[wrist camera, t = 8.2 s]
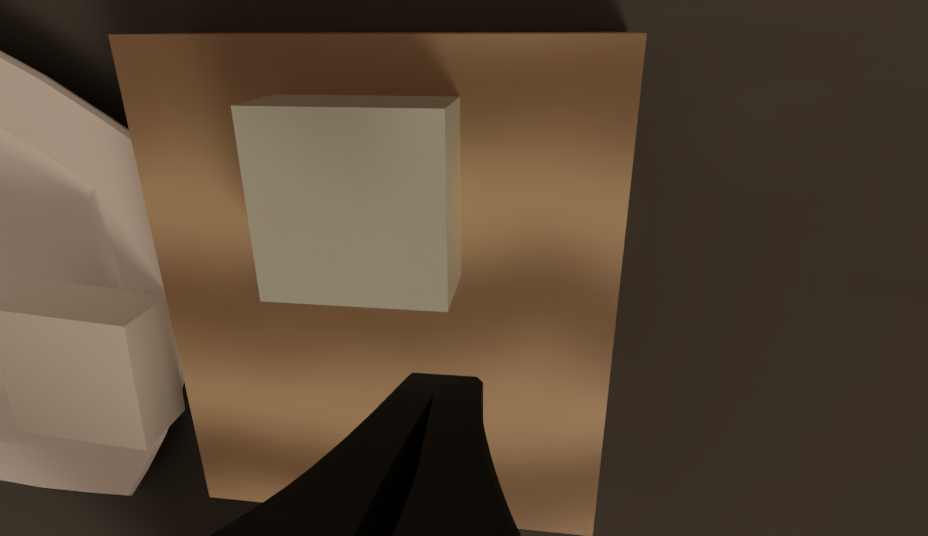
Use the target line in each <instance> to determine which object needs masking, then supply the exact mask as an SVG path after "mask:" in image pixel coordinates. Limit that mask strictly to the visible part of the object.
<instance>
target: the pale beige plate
mask: <svg viewBox="0 0 928 536" xmlns="http://www.w3.org/2000/svg"><path fill="white" fill-rule="evenodd" d="M40 279H41V280H49V281H57V282H66V283H74V284H82V285H90V286H98V287H107V288H115V289H123V290H131V291H139V292H148V293H156V294H164V295H165V291H164V287H163V282H162V278H161V273H160V269H159V264H158V259H157V255H156V250H155V246H154V241H153V237H152V232H151V228H150V223H149V218H148V214H147V209H146V205H145V200H144V196H143V191H142V187H141V182H140V177H139V173H138V168H137V164H136V159H135V155H134V150H133V146H132V141H131V136H130V132H129V129H127V128H126V127H124V126H123V125H121V124H120V123H118V122H117V121H116V120H114V119H113V118H111V117H110V116H108V115H107V114H105V113H104V112H102V111H101V110H99V109H97V108H96V107H94V106H93V105H91V104H90V103H88V102H87V101H85V100H84V99H82V98H80V97H79V96H77V95H76V94H74V93H73V92H71V91H70V90H68V89H67V88H65V87H63V86H62V85H60V84H59V83H57V82H56V81H54V80H53V79H51V78H50V77H48V76H46V75H45V74H43V73H41V72H39V71H37V70H35V69H34V68H32V67H30V66H28V65H26V64H24V63H23V62H21V61H19V60H17V59H15V58H13V57H12V56H10V55H8V54H6V53H4V52H2V51H1V50H0V299H2V298H4V297H6V296H8V295H10V294H12V293H14V292H16V291H18V290H20V289H22V288H24V287H26V286H28V285H30V284H32V283H34V282H36V281H38V280H40ZM174 338H175V337H174ZM175 345H176V342H175ZM176 352H177V359H178V365H179V372H180V378H181V384H182V389H183V385H184V378H183V373H182V369H181V364H180V360H179V355H178V351H177V346H176ZM167 431H168V429H167V430H166V431H165V432H164V433H163V434H162V435H161V436H160V437H159V438H158V439H157V440H156V441H155V443H154V444H153V445H152V446H151V447H150V448H149V449H148V450H140V449H133V448H126V447H120V446H113V445H106V444H99V443H93V442H86V441H79V440H73V439H66V438H59V437H52V436H46V435H39V434H32V433H25V432H19V431H17V428H16V424H15V421H14V417H13V414H12V411H11V407H10V404H9V400H8V397H7V393H6V390H5V386H4V383H3V379H2V376H1V373H0V480H4V481H9V482H15V483H20V484H26V485H31V486H37V487H44V488H53V489H62V490H72V491H81V492H92V493H104V494H116V495H133V493H134V492H135V490H136V488H137V487H138V485H139V483H140V482H141V480H142V479H143V477H144V475H145V474H146V472H147V470H148V469H149V467H150V465H151V463H152V461H153V459H154V457H155V455H156V453H157V451H158V449H159V447H160V445H161V444H162V442H163V440H164V438H165V436H166V434H167Z"/></svg>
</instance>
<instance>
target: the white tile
mask: <svg viewBox="0 0 928 536" xmlns="http://www.w3.org/2000/svg"><path fill="white" fill-rule="evenodd" d="M0 373H1V376H2V379H3V383H4V386H5V390H6V393H7V397H8V400H9V404H10V407H11V411H12V414H13V417H14V421H15V424H16V428H17V431H19V432H25V433H32V434H39V435H46V436H52V437H59V438H66V439H73V440H79V441H86V442H93V443H99V444H106V445H113V446H120V447H126V448H133V449H140V450H148V449H149V448H150V447H151V446H152V445H153V444H154V443H155V441H156V440H157V439H158V438H159V437H160V436H161V435H162V434H163V433H164V432H165V431H166V430H167V429H168V428H169V427H170V425H171V424H172V423H173V422H174V421H175V420H176V419H177V418H178V417H179V416H180V415H181V414H182V413H183V412H184V411H185V405H184V398H183V391H182V384H181V378H180V372H179V365H178V359H177V352H176V345H175V338H174V332H173V328H172V323H171V319H170V314H169V310H168V305H167V300H166V296H165V295H164V294H156V293H148V292H139V291H131V290H123V289H115V288H107V287H98V286H90V285H82V284H74V283H66V282H57V281H49V280H41V279H40V280H38V281H36V282H34V283H32V284H30V285H28V286H26V287H24V288H22V289H20V290H18V291H16V292H14V293H12V294H10V295H8V296H6V297H4V298H2V299H0Z"/></svg>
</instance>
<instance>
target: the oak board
mask: <svg viewBox="0 0 928 536" xmlns="http://www.w3.org/2000/svg"><path fill="white" fill-rule="evenodd" d="M108 36H109V41H110V45H111V50H112V54H113V59H114V64H115V68H116V73H117V77H118V82H119V86H120V91H121V95H122V100H123V105H124V109H125V114H126V118H127V123H128V127H129V132H130V136H131V141H132V146H133V150H134V155H135V159H136V164H137V168H138V173H139V177H140V182H141V187H142V191H143V196H144V200H145V205H146V209H147V214H148V218H149V223H150V228H151V232H152V237H153V241H154V246H155V250H156V255H157V259H158V264H159V269H160V273H161V278H162V282H163V287H164V291H165V296H166V300H167V305H168V310H169V314H170V319H171V323H172V328H173V332H174V337H175V342H176V346H177V351H178V355H179V360H180V364H181V369H182V373H183V378H184V383H185V387H186V392H187V396H188V401H189V405H190V410H191V414H192V419H193V424H194V428H195V433H196V437H197V442H198V446H199V451H200V455H201V460H202V465H203V469H204V474H205V478H206V483H207V487H208V492H209V496H210V497H214V498H224V499H234V500H243V501H253V502H265V501H266V500H267V499H269V498H270V497H272V496H273V495H275V494H276V493H277V492H279V491H280V490H282V489H283V488H285V487H286V486H287V485H289V484H290V483H291V482H293V481H294V480H295V479H297V478H298V477H299V476H300V475H302V474H303V473H304V472H306V471H307V470H308V469H309V468H311V467H312V466H313V465H314V464H315V463H316V462H318V461H319V460H320V459H321V458H322V457H323V456H325V455H326V454H327V453H328V452H329V451H331V450H332V449H333V448H334V447H335V446H336V445H338V444H339V443H340V442H341V441H342V440H343V439H344V438H345V437H347V436H348V435H349V434H350V433H351V432H352V431H353V430H354V429H355V428H356V427H357V426H358V425H359V424H360V423H361V422H362V421H364V420H365V419H366V418H367V417H368V416H369V415H370V414H371V413H372V412H373V411H374V410H375V409H376V408H377V407H378V406H379V405H380V404H381V403H382V402H383V401H384V400H385V399H386V398H387V397H388V396H389V395H390V394H391V393H392V392H393V391H394V390H395V389H396V388H397V387H398V386H399V385H400V384H401V383H402V382H403V381H404V380H405V379H406V378H407V377H408V376H409V375H410V374H411V373H427V374H442V375H458V376H474V377H478V378H479V379H480V380H481V381H482V382H483V423H484V429H485V433H486V438H487V442H488V446H489V450H490V454H491V458H492V461H493V464H494V468H495V471H496V474H497V477H498V480H499V483H500V486H501V489H502V491H503V494H504V497H505V499H506V502H507V505H508V507H509V510H510V512H511V515H512V517H513V519H514V521H515V524H516V526H517V528H518V529H527V530H537V531H547V532H556V533H566V534H576V535H586V536H593V527H594V518H595V509H596V499H597V490H598V481H599V472H600V462H601V453H602V444H603V435H604V425H605V416H606V407H607V398H608V388H609V379H610V370H611V361H612V351H613V342H614V333H615V324H616V314H617V305H618V296H619V287H620V277H621V268H622V259H623V250H624V240H625V231H626V222H627V213H628V203H629V194H630V185H631V176H632V166H633V157H634V148H635V139H636V129H637V120H638V111H639V102H640V92H641V83H642V74H643V65H644V55H645V46H646V37H647V33H636V32H325V33H150V34H108ZM275 94H286V95H373V96H459V97H460V179H461V277H460V279H459V282H458V285H457V288H456V291H455V294H454V297H453V300H452V302H451V305H450V308H449V311H448V312H436V311H418V310H401V309H383V308H366V307H349V306H331V305H314V304H297V303H279V302H262V301H260V296H259V289H258V283H257V276H256V270H255V263H254V256H253V250H252V243H251V237H250V230H249V223H248V217H247V210H246V204H245V197H244V190H243V184H242V177H241V171H240V164H239V157H238V151H237V144H236V138H235V131H234V124H233V118H232V111H231V105H235V104H239V103H243V102H247V101H251V100H255V99H259V98H263V97H267V96H271V95H275Z"/></svg>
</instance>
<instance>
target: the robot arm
mask: <svg viewBox="0 0 928 536" xmlns="http://www.w3.org/2000/svg"><path fill="white" fill-rule="evenodd" d="M210 536H521V535H520V533H519V531H518V528H517V526H516V524H515V521H514V519H513V517H512V515H511V512H510V510H509V507H508V505H507V502H506V499H505V497H504V494H503V491H502V489H501V486H500V483H499V480H498V477H497V474H496V471H495V468H494V464H493V461H492V458H491V454H490V450H489V446H488V442H487V438H486V433H485V429H484V423H483V382H482V381H481V380H480V379H479V378H478V377H474V376H458V375H442V374H427V373H411V374H410V375H409V376H408V377H407V378H406V379H405V380H404V381H403V382H402V383H401V384H400V385H399V386H398V387H397V388H396V389H395V390H394V391H393V392H392V393H391V394H390V395H389V396H388V397H387V398H386V399H385V400H384V401H383V402H382V403H381V404H380V405H379V406H378V407H377V408H376V409H375V410H374V411H373V412H372V413H371V414H370V415H369V416H368V417H367V418H366V419H365V420H364V421H362V422H361V423H360V424H359V425H358V426H357V427H356V428H355V429H354V430H353V431H352V432H351V433H350V434H349V435H348V436H347V437H345V438H344V439H343V440H342V441H341V442H340V443H339V444H338V445H336V446H335V447H334V448H333V449H332V450H331V451H329V452H328V453H327V454H326V455H325V456H323V457H322V458H321V459H320V460H319V461H318V462H316V463H315V464H314V465H313V466H312V467H311V468H309V469H308V470H307V471H306V472H304V473H303V474H302V475H300V476H299V477H298V478H297V479H295V480H294V481H293V482H291V483H290V484H289V485H287V486H286V487H285V488H283V489H282V490H280V491H279V492H277V493H276V494H275V495H273V496H272V497H270V498H269V499H267V500H266V501H265V502H263V503H262V504H260V505H259V506H257V507H256V508H254V509H253V510H251V511H250V512H248V513H246V514H245V515H243V516H241V517H240V518H238V519H236V520H235V521H233V522H231V523H230V524H228V525H226V526H225V527H223V528H221V529H220V530H218V531H217V532H215V533H213V534H212V535H210Z"/></svg>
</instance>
